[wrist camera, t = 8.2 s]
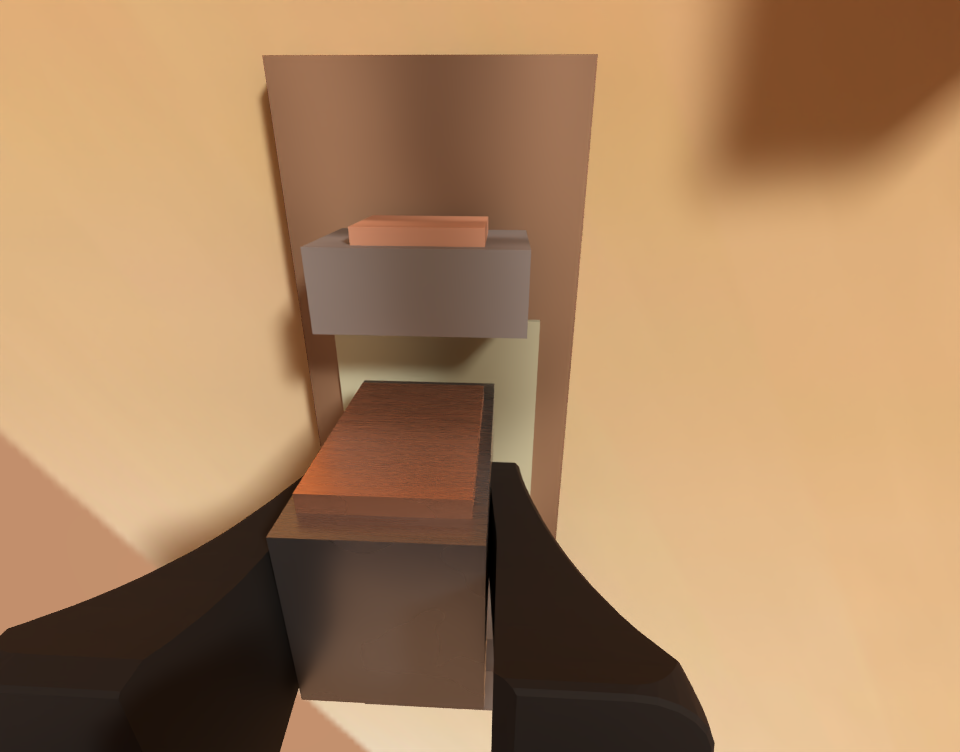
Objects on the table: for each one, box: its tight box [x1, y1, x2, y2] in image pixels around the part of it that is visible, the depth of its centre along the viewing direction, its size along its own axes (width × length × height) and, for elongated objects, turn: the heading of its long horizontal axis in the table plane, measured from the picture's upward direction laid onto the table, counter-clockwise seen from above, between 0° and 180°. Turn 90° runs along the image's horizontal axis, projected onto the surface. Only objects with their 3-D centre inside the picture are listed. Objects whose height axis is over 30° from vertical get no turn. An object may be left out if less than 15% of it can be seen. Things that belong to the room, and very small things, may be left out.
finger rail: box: [262, 54, 598, 710], centre depth 15 cm, size 8×20×4 cm, turn 0°
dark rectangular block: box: [266, 380, 495, 709], centre depth 11 cm, size 4×4×6 cm
